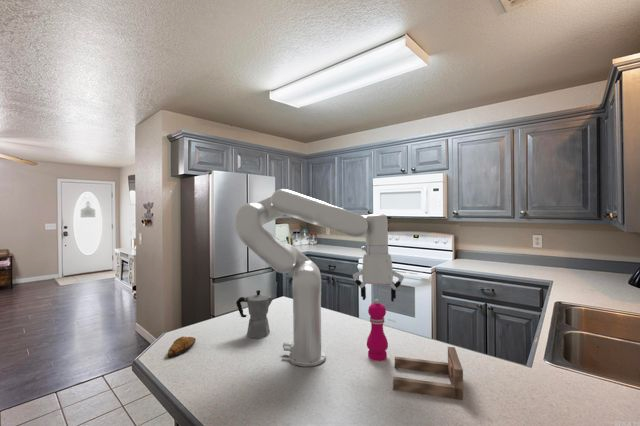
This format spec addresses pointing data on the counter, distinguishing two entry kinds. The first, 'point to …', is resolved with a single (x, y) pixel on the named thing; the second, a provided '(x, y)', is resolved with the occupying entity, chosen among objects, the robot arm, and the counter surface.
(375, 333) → the pepper mill
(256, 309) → the coffeepot
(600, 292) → the counter surface
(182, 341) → the croissant
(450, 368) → the spice rack
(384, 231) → the robot arm
